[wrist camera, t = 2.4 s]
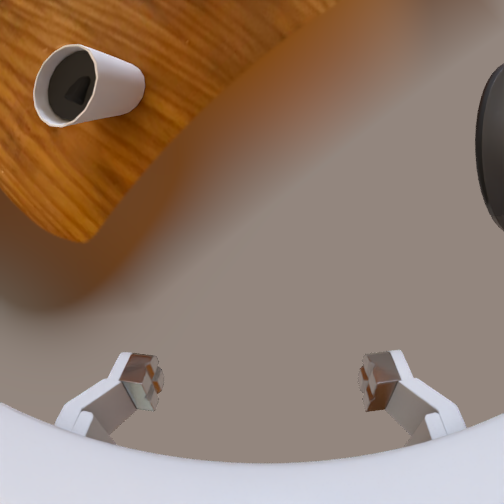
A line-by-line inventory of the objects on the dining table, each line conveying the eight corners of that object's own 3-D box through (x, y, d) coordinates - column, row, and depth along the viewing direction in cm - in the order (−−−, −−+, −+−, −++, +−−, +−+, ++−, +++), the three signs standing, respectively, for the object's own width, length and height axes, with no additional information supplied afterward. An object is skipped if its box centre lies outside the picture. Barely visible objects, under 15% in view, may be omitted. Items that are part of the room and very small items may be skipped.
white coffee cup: (159, 68, 24) (112, 52, 15) (134, 128, 27) (79, 138, 18) (108, 53, 23) (50, 39, 14) (85, 109, 25) (24, 116, 16)
